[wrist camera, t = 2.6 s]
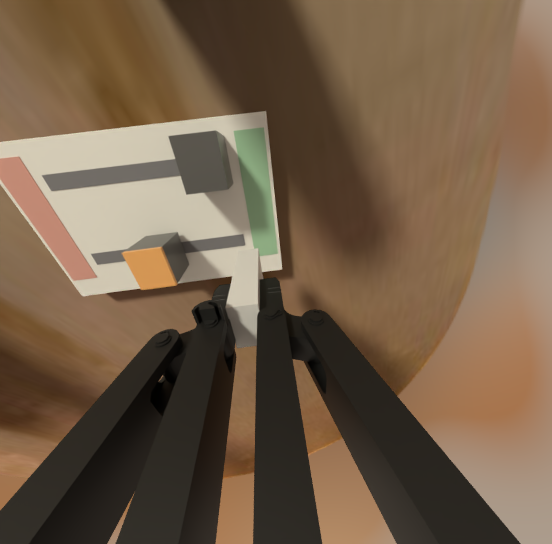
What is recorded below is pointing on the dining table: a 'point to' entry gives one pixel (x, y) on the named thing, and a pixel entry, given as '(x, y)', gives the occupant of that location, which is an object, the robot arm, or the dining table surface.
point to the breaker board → (148, 196)
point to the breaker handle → (157, 260)
